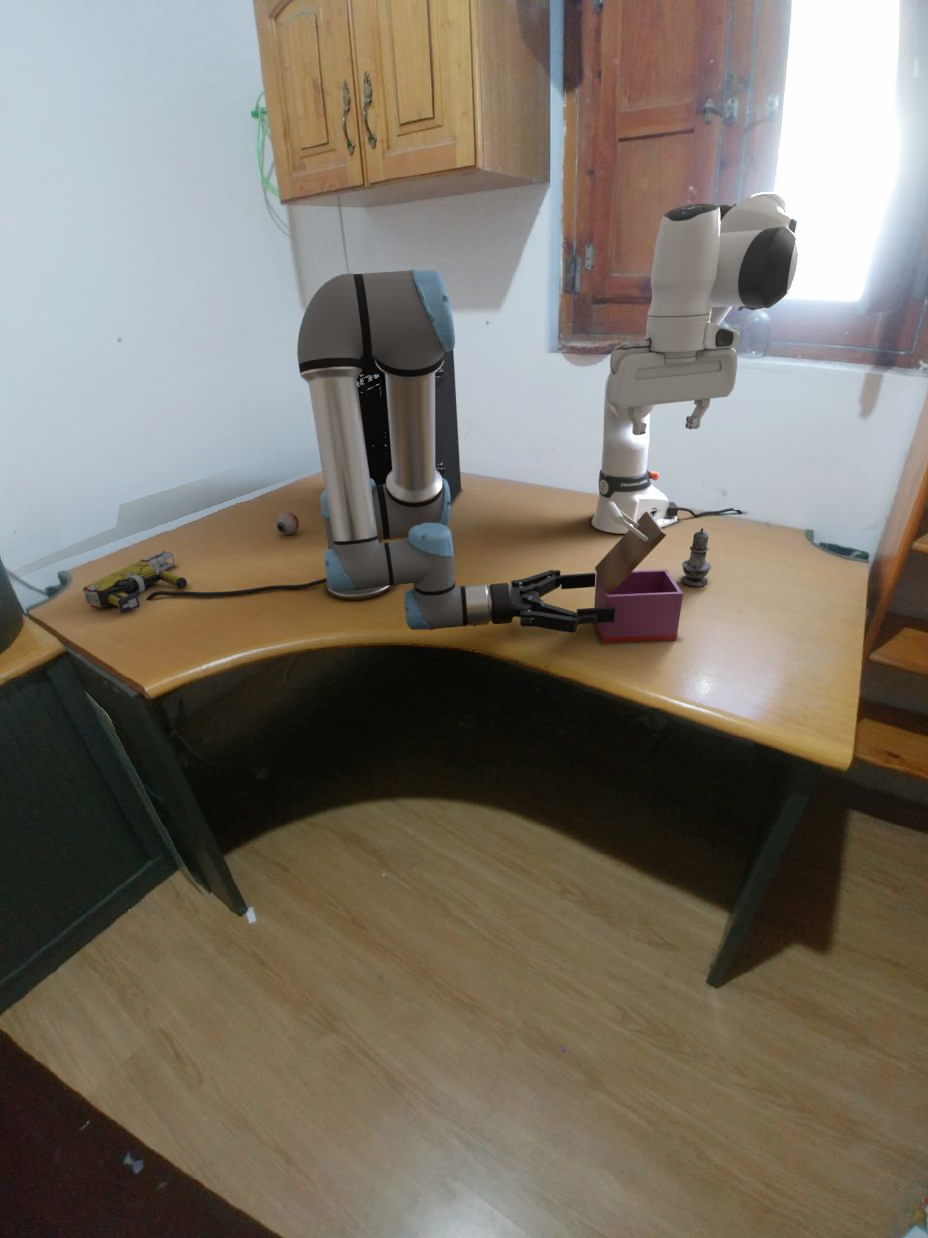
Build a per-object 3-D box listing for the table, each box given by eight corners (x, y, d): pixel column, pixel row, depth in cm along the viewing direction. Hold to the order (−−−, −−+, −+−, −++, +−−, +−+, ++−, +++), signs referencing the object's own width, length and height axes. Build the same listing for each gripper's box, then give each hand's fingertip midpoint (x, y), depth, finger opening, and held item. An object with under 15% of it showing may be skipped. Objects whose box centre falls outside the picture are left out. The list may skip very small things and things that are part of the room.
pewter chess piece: (710, 587, 126) (720, 533, 120) (681, 586, 127) (688, 532, 121) (706, 574, 131) (715, 522, 125) (678, 573, 132) (685, 522, 126)
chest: (661, 613, 118) (667, 569, 114) (676, 639, 110) (683, 593, 105) (593, 615, 119) (596, 572, 114) (603, 642, 110) (606, 596, 105)
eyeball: (273, 537, 164) (268, 516, 161) (287, 528, 169) (282, 508, 166) (291, 539, 161) (286, 518, 158) (305, 530, 166) (301, 510, 163)
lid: (650, 514, 108) (617, 488, 106) (666, 535, 100) (630, 507, 97) (598, 570, 114) (565, 547, 111) (609, 595, 105) (573, 570, 103)
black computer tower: (428, 534, 159) (412, 349, 137) (356, 531, 164) (329, 352, 141) (461, 489, 191) (452, 333, 168) (400, 488, 195) (384, 335, 173)
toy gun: (211, 559, 145) (160, 548, 149) (132, 601, 125) (76, 587, 129) (214, 576, 147) (164, 565, 151) (137, 620, 127) (82, 606, 131)
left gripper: (484, 591, 123) (587, 584, 124) (497, 659, 102) (621, 649, 102) (482, 558, 120) (588, 550, 120) (496, 620, 98) (625, 611, 99)
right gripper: (622, 343, 85) (614, 443, 92) (749, 332, 89) (733, 428, 95) (602, 340, 90) (596, 434, 97) (723, 329, 94) (710, 420, 101)
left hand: (604, 596), depth 111 cm, fingers open, 13 cm apart
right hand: (665, 431), depth 96 cm, fingers open, 8 cm apart
